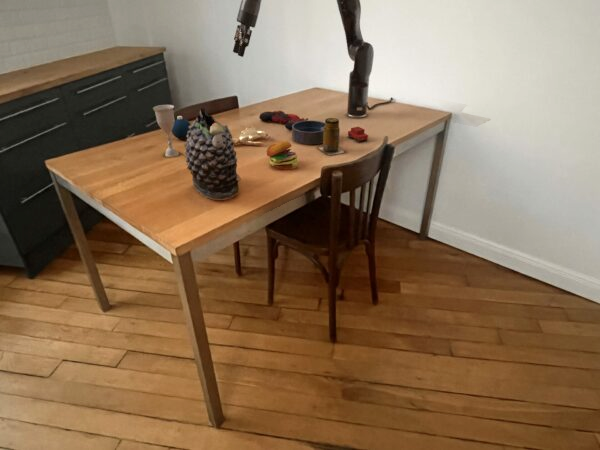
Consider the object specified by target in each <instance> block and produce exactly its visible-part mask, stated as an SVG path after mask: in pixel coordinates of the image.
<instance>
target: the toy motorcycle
mask: <svg viewBox="0 0 600 450" xmlns="http://www.w3.org/2000/svg"><path fill="white" fill-rule="evenodd" d="M259 119H260V121H262V122H265V123H266V122H267V123H268V122H275V123H277V124H282V125H284V127H285V129H286V130H289V131H292V125H293V124H294V123H296V122H300V121H309V117H307V118H304V117H303V118H301V117H300V116H298V115H297V114H293V113H285V112H284V111H282V110H274V111H264V112H261V113H260V114H259Z"/></svg>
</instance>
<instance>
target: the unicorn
mask: <svg viewBox="0 0 600 450" xmlns="http://www.w3.org/2000/svg"><path fill="white" fill-rule="evenodd" d="M263 138H266V140H269V139H271V135H270V133H269V132H265V131H263V130H258V128H257V127H248V128H247V127H245V129H243V130H242V131H240V135H238V136H237V137H236V136H235V137H234V138H232V139H233V146H235V145H239V144H241V145H247V146H248V145H249V146H259V145H263V141H256V140H257V139H263Z"/></svg>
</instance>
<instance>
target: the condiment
mask: <svg viewBox="0 0 600 450" xmlns="http://www.w3.org/2000/svg"><path fill="white" fill-rule="evenodd" d="M324 123H325V126H324V137H323V143H322V146H321V147H318V149H319V151H321V152H323V153H325V154H326V155H328V156H333V155H339V154H344V153H345V151H344V150H343V149H341V148H340V147H339V146H340V145H339V144H340V131H341V130H340V120H339V118H337V117H328V118H326V119H325V120H324Z"/></svg>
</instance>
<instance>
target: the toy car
mask: <svg viewBox="0 0 600 450" xmlns="http://www.w3.org/2000/svg"><path fill="white" fill-rule="evenodd" d="M347 137H348V138H349V139H352V138H353V139H355V141H356V143H360V142H361V141H364V142H365V141H368V140H369V134H367V133H365V129H364V128H362V127H361V126H354V127H350V130H348V131H347Z"/></svg>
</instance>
